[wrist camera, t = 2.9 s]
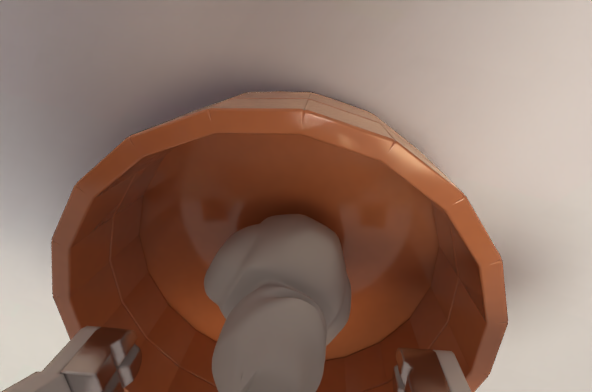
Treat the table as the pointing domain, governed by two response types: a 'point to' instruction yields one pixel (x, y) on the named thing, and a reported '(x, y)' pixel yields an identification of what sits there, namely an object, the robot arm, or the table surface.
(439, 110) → the table surface
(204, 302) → the terracotta dish
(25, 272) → the table surface
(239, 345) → the grey rounded lumpy piece
